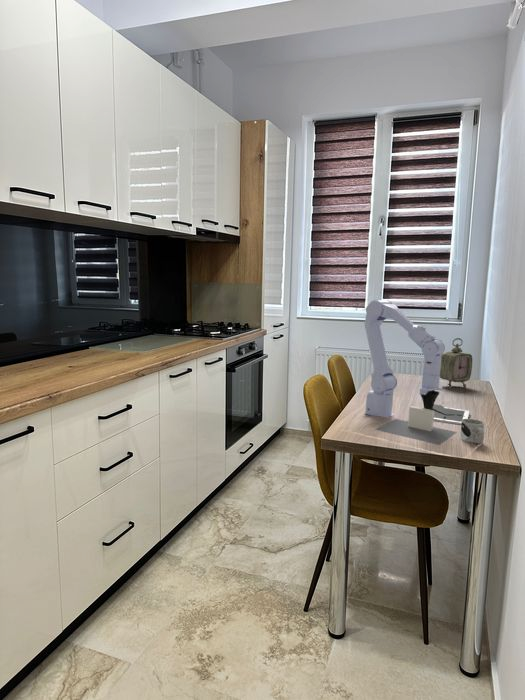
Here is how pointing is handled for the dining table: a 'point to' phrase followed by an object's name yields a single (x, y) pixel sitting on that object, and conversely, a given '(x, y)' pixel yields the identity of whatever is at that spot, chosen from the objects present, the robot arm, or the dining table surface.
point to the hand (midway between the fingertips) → (427, 411)
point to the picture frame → (449, 414)
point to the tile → (421, 418)
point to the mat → (416, 432)
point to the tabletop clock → (456, 365)
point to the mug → (472, 431)
